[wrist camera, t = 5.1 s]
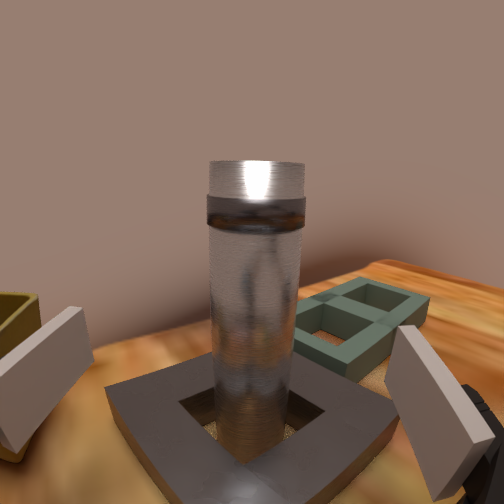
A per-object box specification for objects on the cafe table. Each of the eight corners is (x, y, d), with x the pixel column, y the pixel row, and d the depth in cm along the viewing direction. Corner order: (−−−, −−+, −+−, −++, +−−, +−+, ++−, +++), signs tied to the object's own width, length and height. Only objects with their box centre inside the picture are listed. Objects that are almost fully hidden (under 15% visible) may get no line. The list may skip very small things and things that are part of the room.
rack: (424, 320, 33) (430, 297, 32) (340, 395, 21) (347, 364, 21) (357, 298, 40) (360, 276, 39) (253, 346, 29) (254, 317, 28)
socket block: (391, 438, 16) (404, 406, 16) (232, 570, 8) (230, 553, 8) (259, 363, 26) (260, 333, 25) (114, 420, 18) (104, 387, 17)
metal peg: (297, 444, 17) (327, 165, 13) (245, 478, 14) (251, 159, 10) (253, 411, 20) (260, 164, 16) (202, 437, 17) (188, 162, 13)
